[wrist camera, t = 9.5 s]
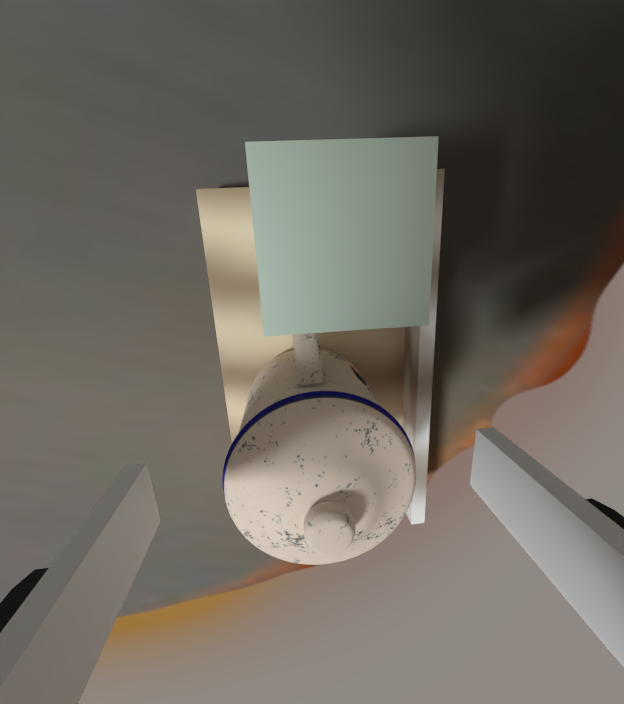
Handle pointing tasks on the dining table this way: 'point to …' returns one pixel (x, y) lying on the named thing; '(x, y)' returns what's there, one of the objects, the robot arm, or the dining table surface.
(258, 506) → the teacup with lid
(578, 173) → the dining table surface
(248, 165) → the tin
